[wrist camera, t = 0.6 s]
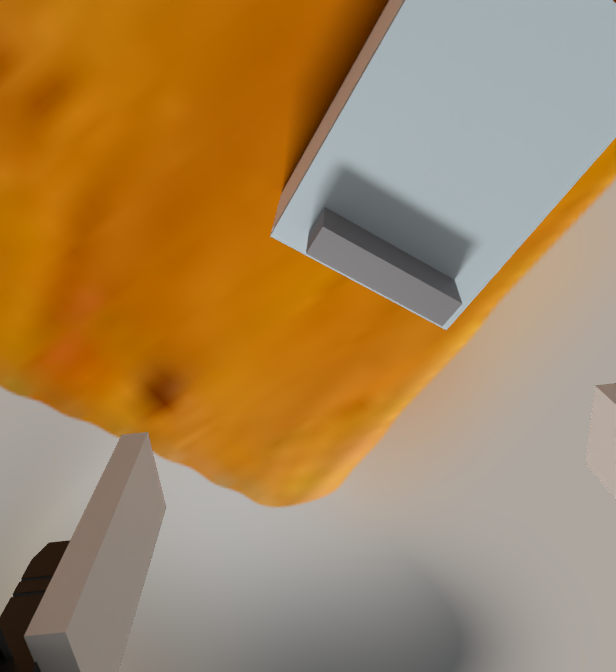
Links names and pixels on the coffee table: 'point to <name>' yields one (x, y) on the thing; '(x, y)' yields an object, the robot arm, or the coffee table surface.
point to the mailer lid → (457, 146)
